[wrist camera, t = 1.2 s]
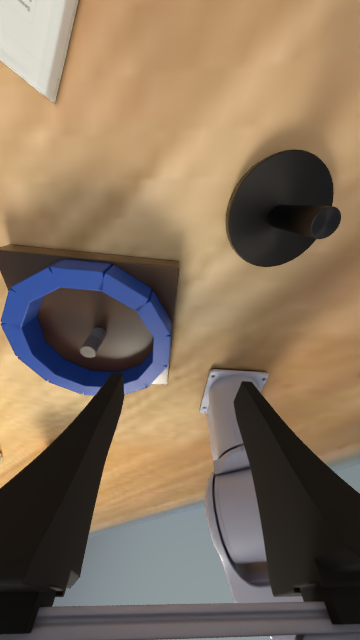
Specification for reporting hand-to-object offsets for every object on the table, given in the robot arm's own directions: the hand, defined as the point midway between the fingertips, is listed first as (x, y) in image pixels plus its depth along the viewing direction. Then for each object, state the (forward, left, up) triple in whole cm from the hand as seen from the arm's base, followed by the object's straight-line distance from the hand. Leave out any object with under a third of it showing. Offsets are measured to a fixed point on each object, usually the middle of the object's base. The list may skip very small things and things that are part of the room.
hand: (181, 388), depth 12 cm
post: (+9, -7, -10) cm, 16 cm away
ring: (-3, +8, -8) cm, 12 cm away
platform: (-3, +8, -10) cm, 13 cm away
